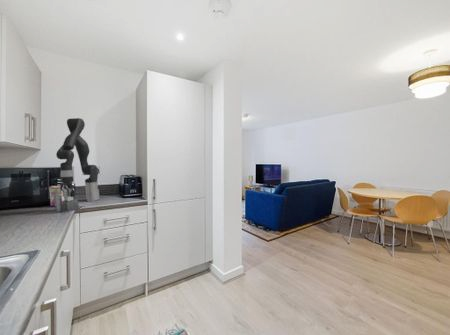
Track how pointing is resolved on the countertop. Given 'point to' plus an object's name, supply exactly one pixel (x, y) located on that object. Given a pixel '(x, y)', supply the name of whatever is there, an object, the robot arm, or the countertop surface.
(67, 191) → the column
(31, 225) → the countertop surface
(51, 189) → the candy bar box
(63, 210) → the stand base
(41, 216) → the countertop surface
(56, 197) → the arrow post
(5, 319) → the countertop surface
